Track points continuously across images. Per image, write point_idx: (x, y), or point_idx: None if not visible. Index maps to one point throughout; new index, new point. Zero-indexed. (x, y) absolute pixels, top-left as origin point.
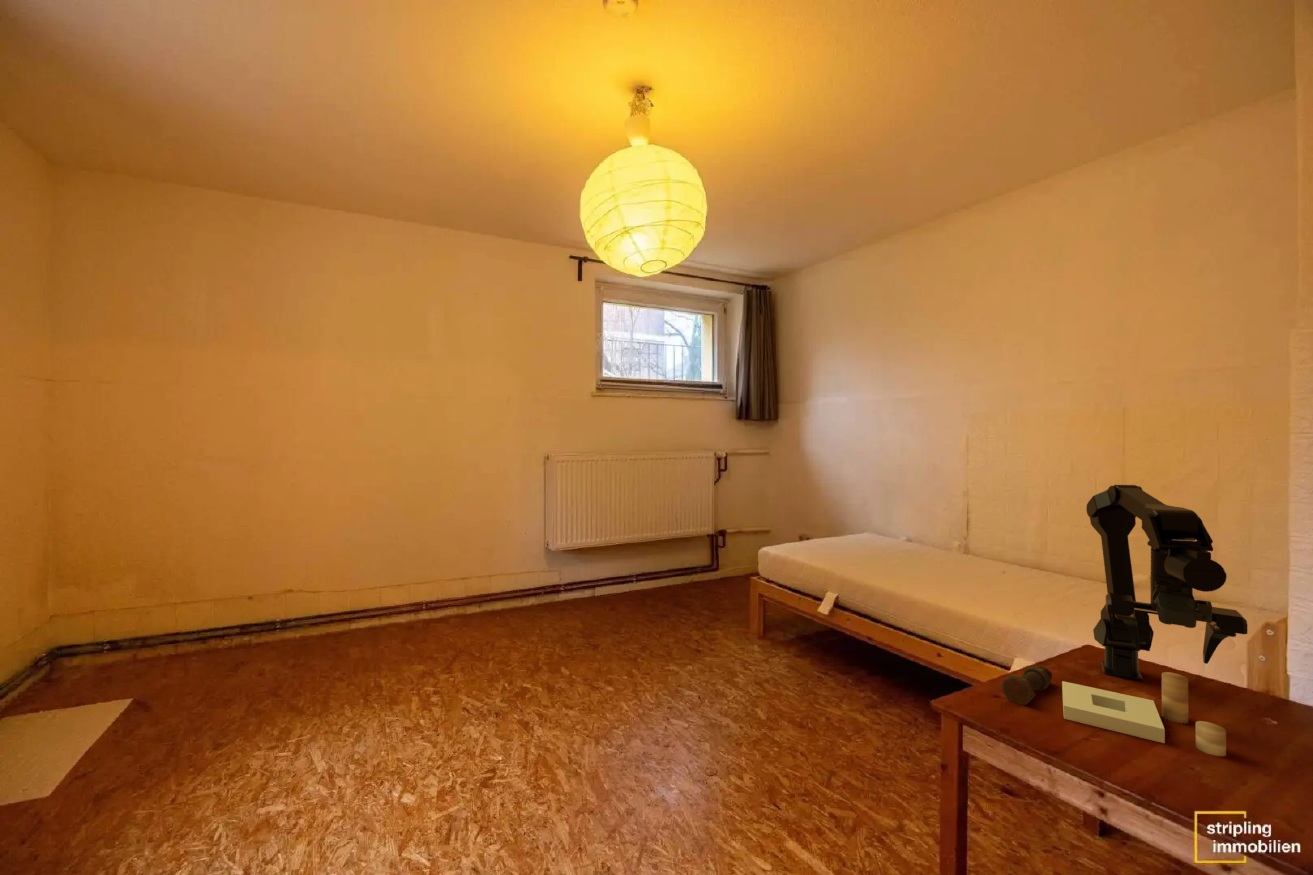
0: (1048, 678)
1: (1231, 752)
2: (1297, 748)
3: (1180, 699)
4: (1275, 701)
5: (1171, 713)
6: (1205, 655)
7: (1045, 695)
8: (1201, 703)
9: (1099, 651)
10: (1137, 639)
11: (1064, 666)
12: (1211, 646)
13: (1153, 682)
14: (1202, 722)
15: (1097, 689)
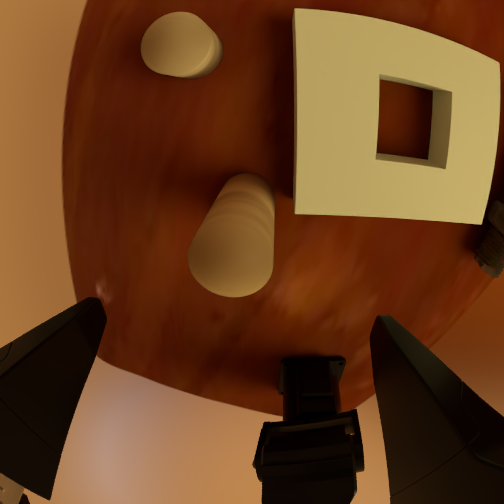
0: (501, 222)
1: (156, 72)
2: (66, 194)
3: (227, 195)
4: (112, 359)
5: (256, 179)
6: (71, 321)
7: (494, 177)
8: (191, 312)
9: None
10: (418, 364)
11: None
12: (15, 352)
13: (262, 361)
14: (189, 59)
15: (423, 212)
